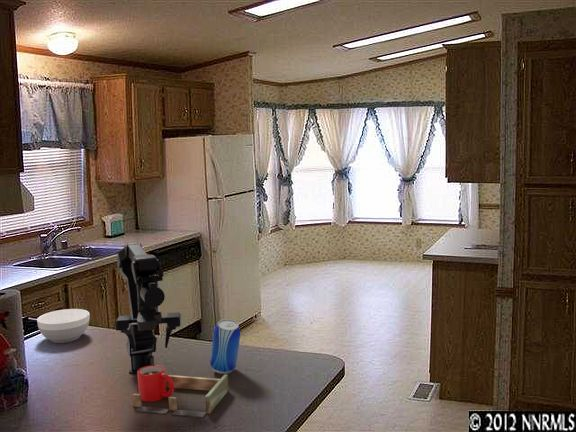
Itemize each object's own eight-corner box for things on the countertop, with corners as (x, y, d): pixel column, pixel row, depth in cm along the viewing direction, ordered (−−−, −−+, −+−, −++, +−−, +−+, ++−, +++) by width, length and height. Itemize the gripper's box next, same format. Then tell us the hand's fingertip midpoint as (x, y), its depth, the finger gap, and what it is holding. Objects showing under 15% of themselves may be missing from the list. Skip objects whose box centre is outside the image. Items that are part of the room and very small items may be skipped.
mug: (167, 405, 170) (165, 379, 169) (133, 398, 175) (131, 373, 174) (183, 394, 177) (181, 368, 176) (150, 388, 182) (148, 363, 181)
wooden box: (129, 410, 167) (127, 393, 167) (157, 384, 184) (156, 369, 184) (206, 418, 162) (205, 400, 161) (228, 390, 179) (227, 374, 178)
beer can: (231, 377, 189) (237, 333, 184) (206, 371, 190) (211, 327, 185) (238, 363, 197) (244, 320, 192) (214, 358, 198) (219, 315, 193)
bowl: (31, 338, 231) (29, 316, 230) (79, 326, 243) (78, 305, 242) (49, 350, 217) (47, 327, 215) (99, 338, 229) (97, 315, 228)
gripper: (110, 308, 168) (114, 361, 171) (178, 304, 171) (180, 356, 173) (116, 297, 179) (120, 347, 182) (180, 293, 182) (182, 343, 184)
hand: (150, 348), depth 180 cm, fingers open, 9 cm apart
